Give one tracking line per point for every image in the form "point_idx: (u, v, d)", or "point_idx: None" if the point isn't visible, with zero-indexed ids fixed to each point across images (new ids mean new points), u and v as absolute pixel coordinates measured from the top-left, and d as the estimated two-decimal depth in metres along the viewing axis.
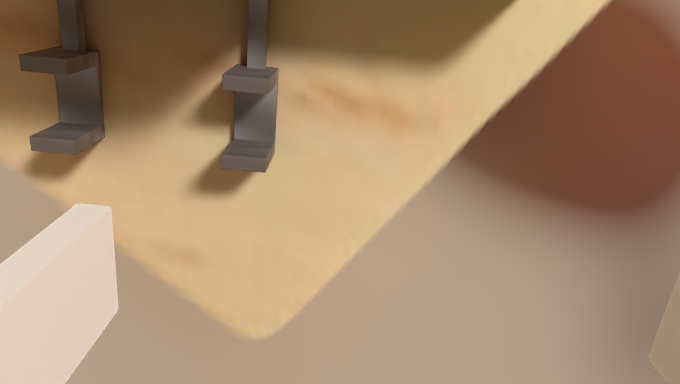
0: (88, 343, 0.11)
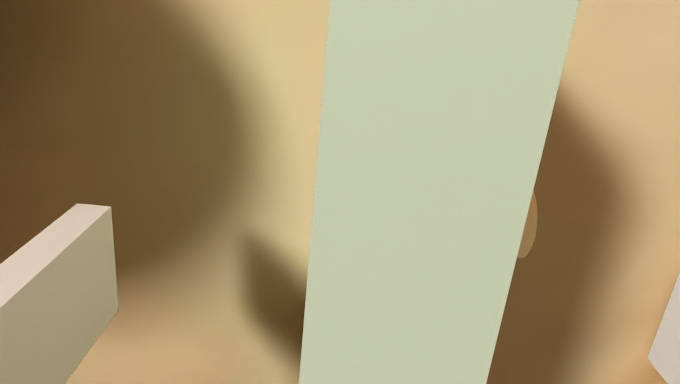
0: (88, 343, 0.11)
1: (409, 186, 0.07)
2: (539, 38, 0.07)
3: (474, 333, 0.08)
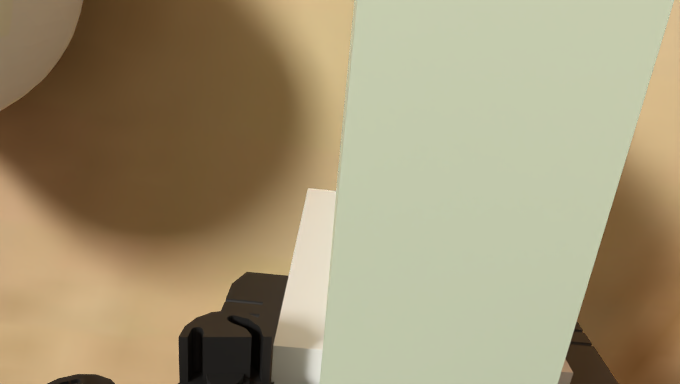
0: None
1: (449, 230, 0.06)
2: (619, 50, 0.05)
3: None
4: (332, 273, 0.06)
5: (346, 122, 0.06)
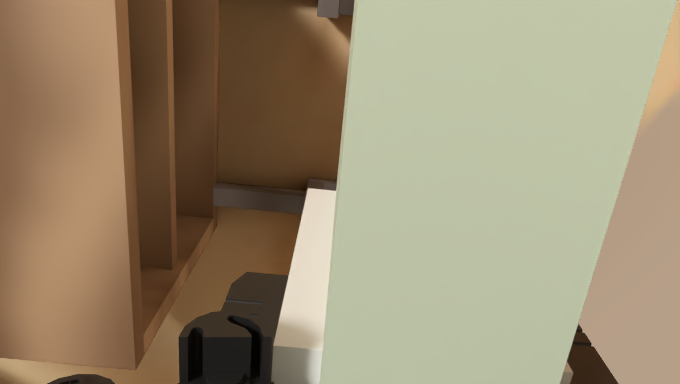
0: None
1: (452, 228, 0.06)
2: (623, 46, 0.05)
3: None
4: (333, 272, 0.06)
5: (347, 119, 0.05)
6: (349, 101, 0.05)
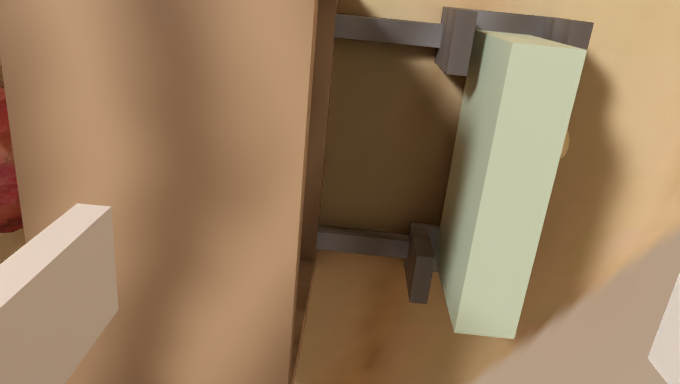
0: (88, 343, 0.11)
1: (528, 120, 0.22)
2: (571, 73, 0.22)
3: (547, 175, 0.23)
4: (494, 133, 0.23)
5: (503, 91, 0.22)
6: (504, 86, 0.22)
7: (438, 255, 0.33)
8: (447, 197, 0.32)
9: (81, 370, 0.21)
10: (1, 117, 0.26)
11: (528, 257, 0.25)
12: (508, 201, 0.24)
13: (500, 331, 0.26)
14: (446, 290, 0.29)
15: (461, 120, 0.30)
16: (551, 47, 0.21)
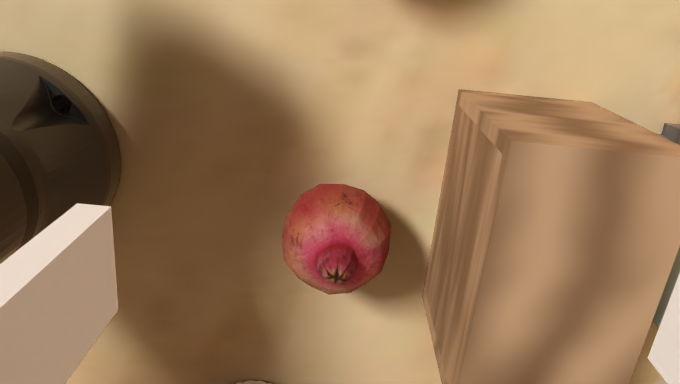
0: (88, 343, 0.11)
1: None
2: None
3: None
4: None
5: None
6: None
7: None
8: None
9: None
10: (369, 213, 0.36)
11: None
12: None
13: None
14: None
15: None
16: None
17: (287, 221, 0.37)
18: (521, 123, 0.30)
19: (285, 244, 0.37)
